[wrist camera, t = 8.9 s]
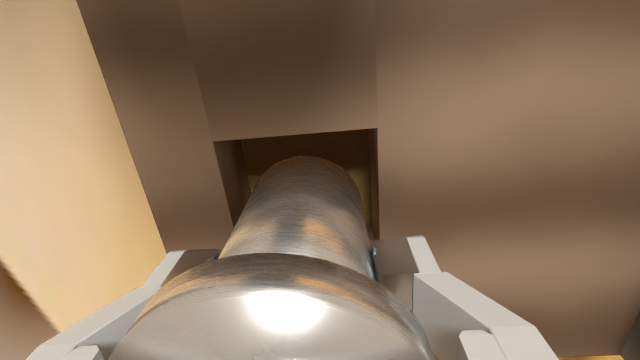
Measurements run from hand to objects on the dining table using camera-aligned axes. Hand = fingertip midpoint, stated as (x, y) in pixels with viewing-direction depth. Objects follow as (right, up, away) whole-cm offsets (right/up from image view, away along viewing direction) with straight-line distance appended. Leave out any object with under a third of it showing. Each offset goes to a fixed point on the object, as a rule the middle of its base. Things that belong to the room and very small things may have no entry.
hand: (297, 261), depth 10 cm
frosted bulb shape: (0, +1, +3) cm, 4 cm away
